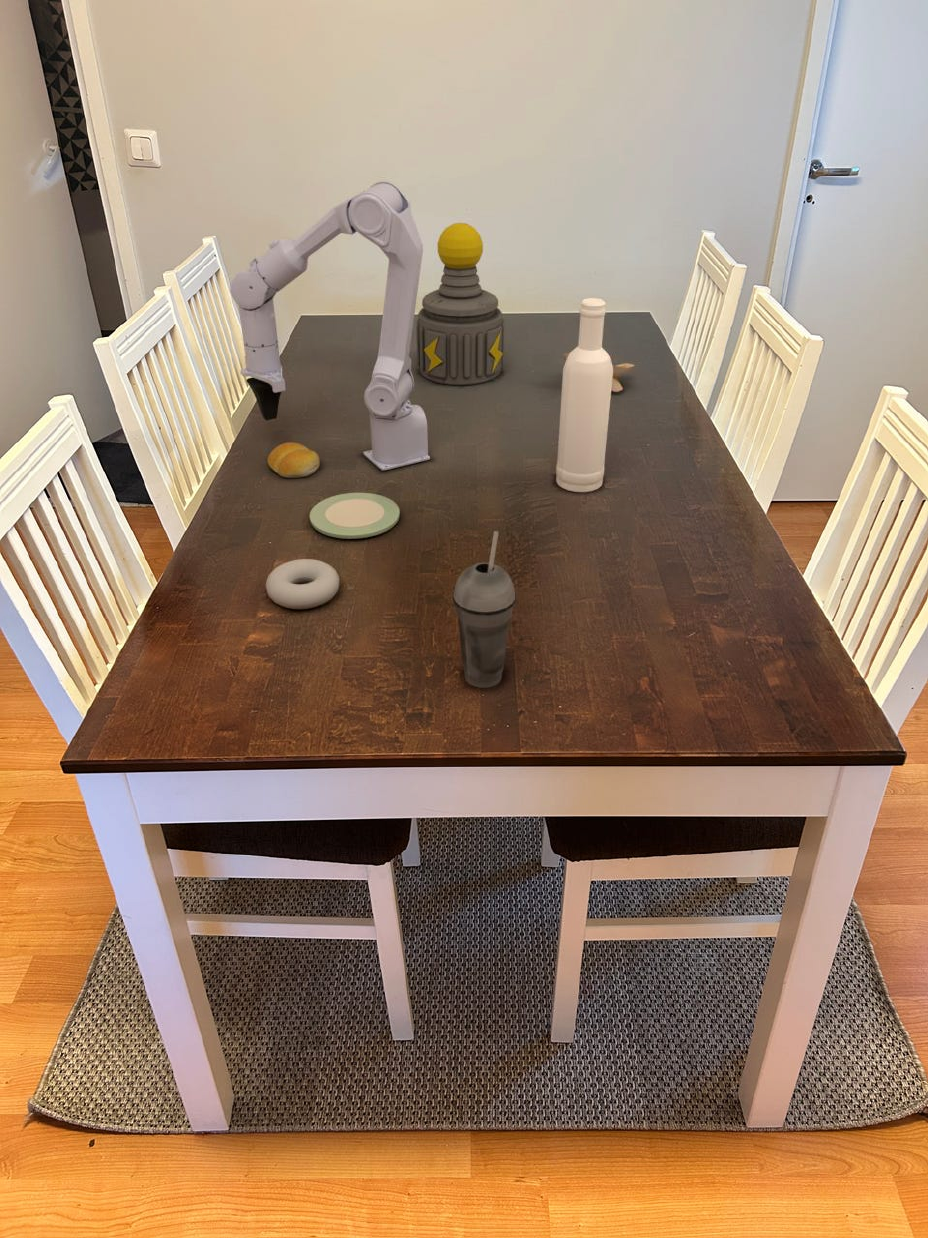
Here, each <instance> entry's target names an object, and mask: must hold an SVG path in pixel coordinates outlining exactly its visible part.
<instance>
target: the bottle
mask: <svg viewBox="0 0 928 1238" xmlns="http://www.w3.org/2000/svg"><path fill="white" fill-rule="evenodd" d="M606 312H607V309H606V302H605V301H604V299H602V298H597V297H587V298H584V299H583V300H582V301H581V302H580V308H579V329H578V330H579V331H578V345H577V346H575V348H574V349H573V350H571V351H570V352H568V353H569V355H568V358H567V360H565V362H564V366H563V369H562V378H561V379H562V380H561V395H560V396H561V397H560V398H561V399H560V411H559V412H560V413H559V427H558V428H559V429H558V442H557V443H558V444H557V445H558V447H557V459H556V461H557V462H556V468H555V474H556V477H555V482H556V484H557V485H558V487H560V488H561V489H563V490H566V491H569V492H574V493H590V492H594V491H597V490H598V489H600V487H602V486H603V481H604V475H605V468H606V467H605V461H606V450H607V441H608V429H609V417H610V407H611V396H612V390H611V388H612V377H613V366H612V365H613V362H612V359H611V356H610V354H609V353H608V352H607V351H606V350H605V349H604V347H603V337H604V325H605V315H606V314H607V313H606Z"/></svg>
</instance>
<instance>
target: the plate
mask: <svg viewBox="0 0 928 1238" xmlns="http://www.w3.org/2000/svg"><path fill="white" fill-rule="evenodd" d="M400 511H401V510H400V506H398V504H397V503H396V502H395V501H394V500H392V499H390V498H389V497H387V496H384V495H380V494H376V493H371V492H347V493H341V494H336V495H333V496H330V497H327V498H325V499H323V500H321V501H319V502H318V503H316V504H315V505H314V506H313V507H312V508H311V510H310V511H309V522H310V525H311V526H312V527H313V529H315V530H316V531H318V532H319V533H321V534H322V535H325V536H328V537H331V538H337V539H347V540H351V539H353V540H354V539H365V538H370V537H375V536H378V535H381V534H383V533H386V532H387V531H389V530H391V529H392V528H393V527H395V525H397V523H398V522H399V521H400V517H401V512H400Z"/></svg>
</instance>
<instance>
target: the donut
mask: <svg viewBox="0 0 928 1238" xmlns="http://www.w3.org/2000/svg"><path fill="white" fill-rule="evenodd" d="M340 582H341V581H340V577H339V575H338V572H337V570H336V569H335V568H334V567H333V566H331V565H330V564H328V563H327V562H325V561H322V560H318V559H313V558H300V559H294V560H290V561H287V562H284V563H282V564H280V565H278V566H277V567H275V568H273V570H272V571H271V572H270V573H269V574H268V576H267V579H266V582H265V590H266V592H267V595H268V597H269V599H271V600H272V601H273V603H275V604H277V605H278V606H281V607H283V608H286V609H292V610H308V609H313V608H317V607H320V606H322V605H324V604H325V603H328V602H329V601H330V600H332V599H333V598H334V597H335V596H336V594H337V593H338V591H339V587H340Z"/></svg>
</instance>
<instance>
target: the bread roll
mask: <svg viewBox="0 0 928 1238" xmlns="http://www.w3.org/2000/svg"><path fill="white" fill-rule="evenodd" d="M320 461H321V460H320V457H319V455H318V453H317V452H316V451H314V450H311V449H309V448H308V447H307V446H305V445H304V444H302V443H299V442H293V441H292V442H291V441H290V442H284V443H281V444H279V445H277V446H276V447H275V448H274V449H273V450H272V451H270V453H269V455H268V456H267V465H268V467H270V468H271V470H272V471H273V472H275V473H277V474H278V475H279V476H280V477H282V478H286V479H299V478H305V477H308V476H311V475H312V474H314V473H315V472H317V471H318V469H319V468H320V464H321V463H320Z"/></svg>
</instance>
